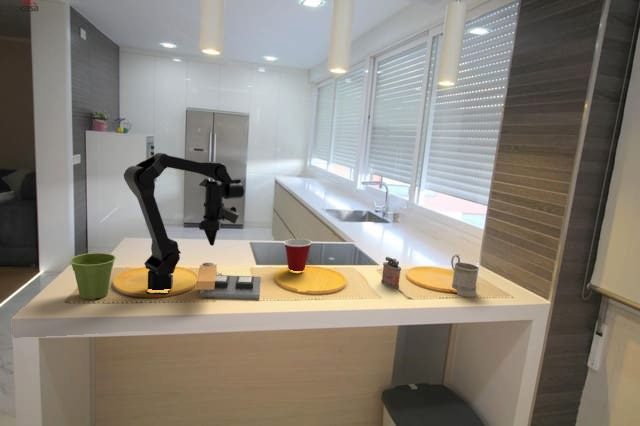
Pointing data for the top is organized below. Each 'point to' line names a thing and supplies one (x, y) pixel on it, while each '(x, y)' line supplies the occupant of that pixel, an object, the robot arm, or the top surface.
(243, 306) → the top surface
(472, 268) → the mug
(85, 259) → the plant pot
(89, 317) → the top surface
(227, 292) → the power supply chassis
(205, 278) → the wooden plank
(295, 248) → the plastic cup
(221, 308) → the top surface
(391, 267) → the lighter
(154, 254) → the robot arm
